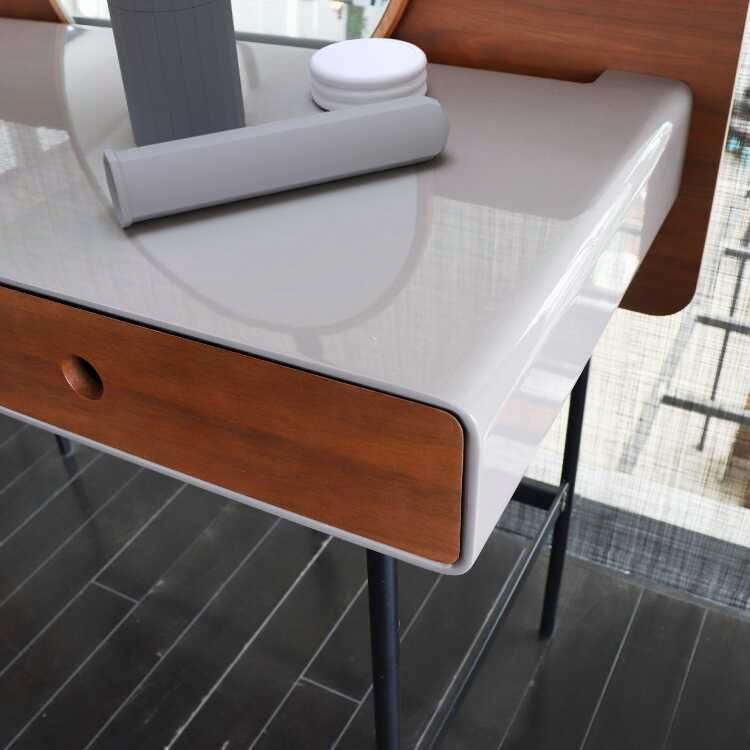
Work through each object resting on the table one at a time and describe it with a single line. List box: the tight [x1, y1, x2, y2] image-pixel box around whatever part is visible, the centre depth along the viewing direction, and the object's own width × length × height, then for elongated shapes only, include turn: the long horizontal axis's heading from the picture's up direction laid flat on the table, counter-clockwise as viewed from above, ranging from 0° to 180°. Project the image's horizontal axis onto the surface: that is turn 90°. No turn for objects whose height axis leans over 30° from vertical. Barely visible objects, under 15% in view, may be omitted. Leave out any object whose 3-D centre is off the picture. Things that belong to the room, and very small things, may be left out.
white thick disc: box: [308, 37, 428, 112], centre depth 85 cm, size 10×10×4 cm
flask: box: [106, 0, 247, 147], centre depth 77 cm, size 9×9×14 cm
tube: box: [102, 95, 452, 229], centre depth 71 cm, size 5×5×25 cm
